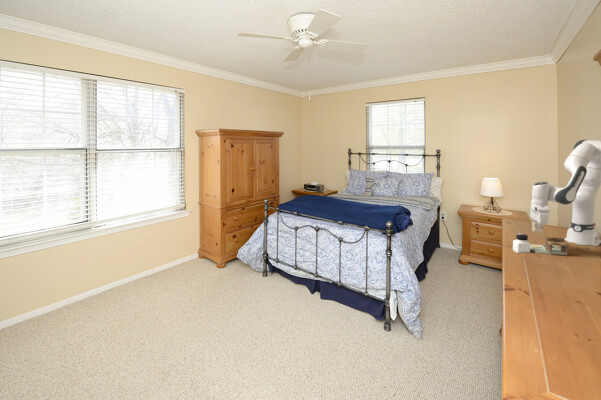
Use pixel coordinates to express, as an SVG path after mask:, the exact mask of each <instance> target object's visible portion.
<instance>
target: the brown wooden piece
mask: <svg viewBox="0 0 601 400" xmlns="http://www.w3.org/2000/svg"><path fill="white" fill-rule="evenodd" d="M564 238H565V237H549V236H548V237H545V245H546V247H545V249H546V250H547V251H548V252H551V253H552V245H553V246H560V248H561V250H562V251H563V252H564V253H567V254H568V253H569V244H568V243H567V242H565V240H564Z"/></svg>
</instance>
